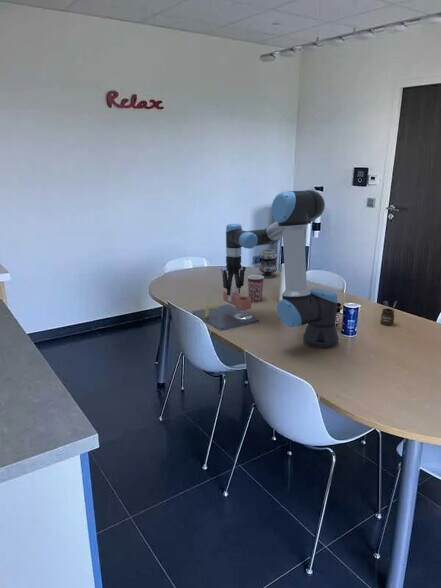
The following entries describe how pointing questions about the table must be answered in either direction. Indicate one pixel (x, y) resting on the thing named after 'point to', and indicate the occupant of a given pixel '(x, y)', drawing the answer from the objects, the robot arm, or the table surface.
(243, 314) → the pintle
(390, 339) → the table surface
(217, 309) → the plate
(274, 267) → the apothecary jar
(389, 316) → the utensil holder
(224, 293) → the link
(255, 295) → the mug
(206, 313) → the block
